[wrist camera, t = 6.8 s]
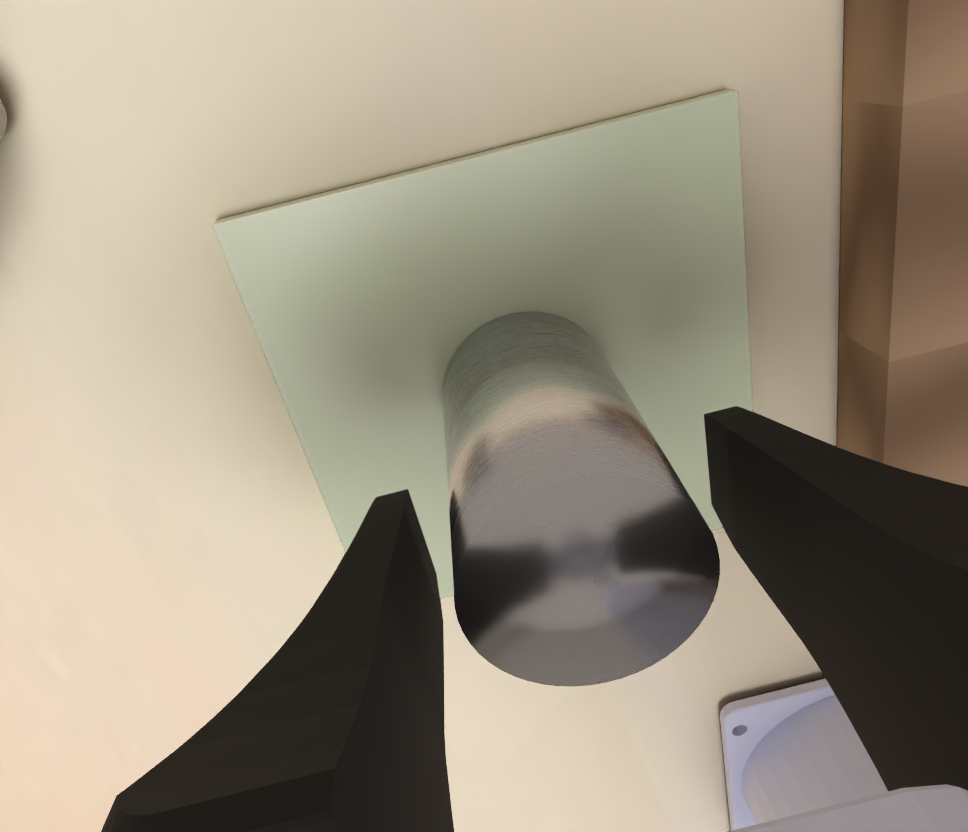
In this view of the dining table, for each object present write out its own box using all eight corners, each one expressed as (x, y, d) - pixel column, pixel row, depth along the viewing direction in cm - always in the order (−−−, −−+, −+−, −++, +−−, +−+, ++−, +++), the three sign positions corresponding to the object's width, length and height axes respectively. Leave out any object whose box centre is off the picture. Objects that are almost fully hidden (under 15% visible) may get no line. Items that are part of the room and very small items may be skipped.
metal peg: (619, 443, 18) (728, 655, 11) (464, 480, 18) (486, 709, 11) (596, 292, 16) (710, 447, 9) (422, 334, 16) (423, 513, 10)
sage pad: (749, 508, 20) (758, 519, 19) (371, 603, 20) (371, 616, 19) (727, 88, 15) (737, 90, 14) (217, 219, 15) (211, 225, 14)
